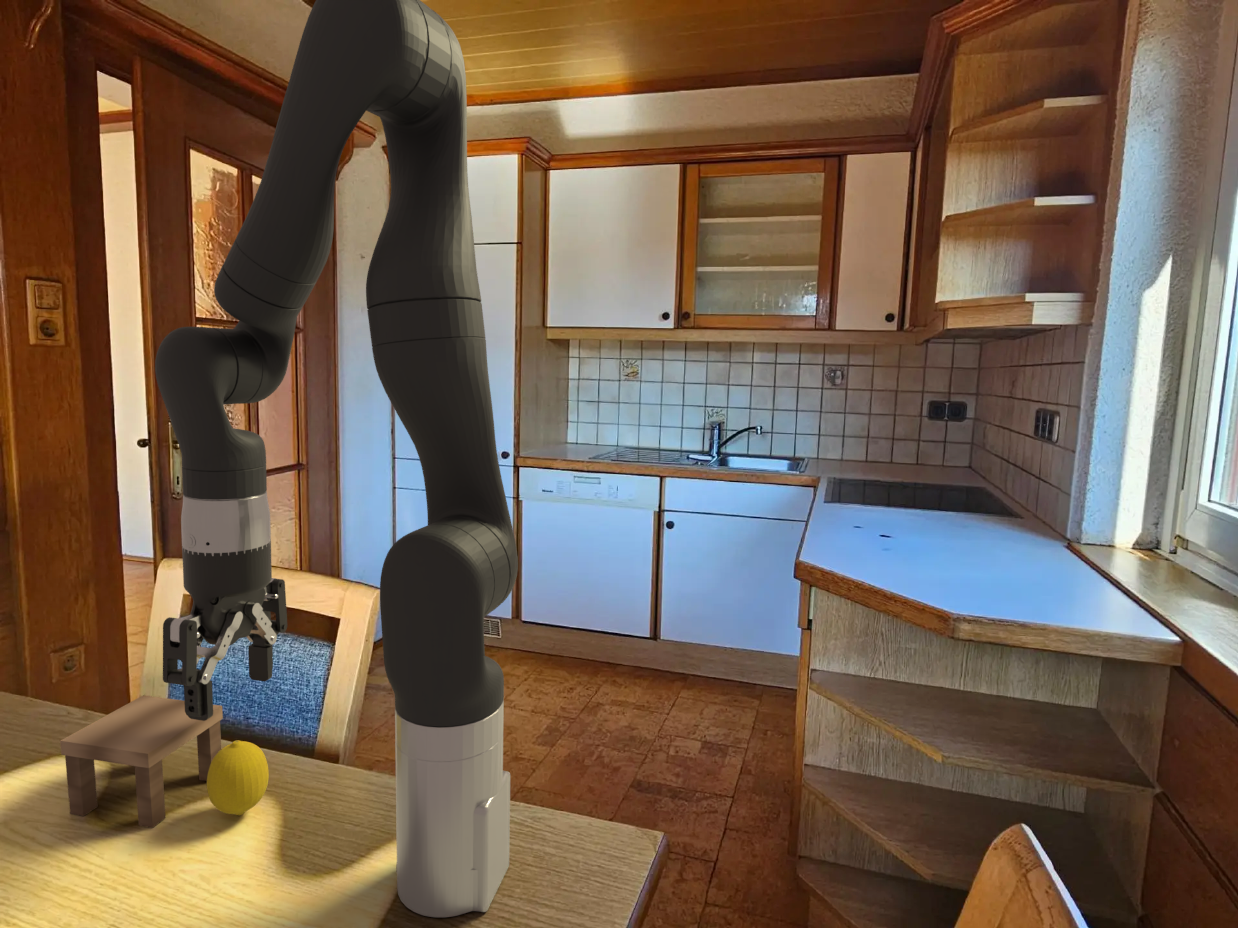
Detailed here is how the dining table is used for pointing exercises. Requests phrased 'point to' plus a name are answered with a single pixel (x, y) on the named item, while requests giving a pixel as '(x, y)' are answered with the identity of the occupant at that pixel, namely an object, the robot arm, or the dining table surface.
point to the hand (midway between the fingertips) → (232, 697)
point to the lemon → (237, 777)
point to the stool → (137, 751)
